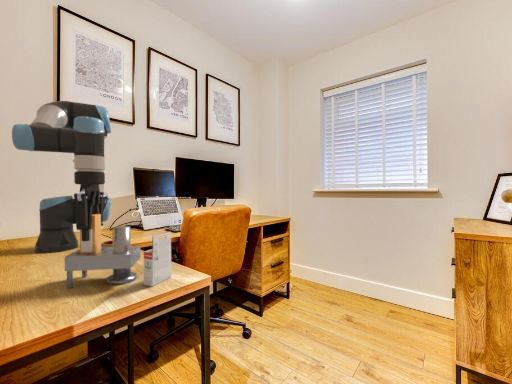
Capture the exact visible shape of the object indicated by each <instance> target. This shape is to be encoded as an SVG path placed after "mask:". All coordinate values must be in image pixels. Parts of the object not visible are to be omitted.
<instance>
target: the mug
mask: <svg viewBox="0 0 512 384" xmlns="http://www.w3.org/2000/svg"><path fill="white" fill-rule="evenodd" d="M101 247H113V240H106V241H103V242H101Z"/></svg>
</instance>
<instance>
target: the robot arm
mask: <svg viewBox="0 0 512 384" xmlns="http://www.w3.org/2000/svg"><path fill="white" fill-rule="evenodd" d="M111 132H112V129H111V121H110V115H109V110H108V109H107V107H105V106H102V105H97V104H89V103H83V102H82V103H81V102H74V101H69V100H58V101H57V100H55V101H51V102H47V103H45V104H43V105H41V106H39V108H38V109H37V111H36V117H35V118H34V119H33V121H32V122H31V123H30V124H28V123H23V124H22V123H16V124H14V125H13V127H12V129H11V139H12V144H13V146H14V148H16V149H17V150H20V151H21V150H22V151H29V152H43V153H44V152H45V153H64V154H65V153H67V154H74V155H73V156H74V157H73V159H72V162H73V163H74V164H73V165H74V167H73V168H74V169H75V170H76V171H75V172H74V180H73V181H74V184H75V185H80V187H79V192H78V193H74V194H73V195H64V196H62V195H61V196H54V197H48V198H47V197H46V198H43V199H41V200H40V202H39V209H38V211H39V235H38V237H37V240H36V243H35V246H34V251H35V252H36V253H43V254H44V253H45V254H46V253H58V252H64V251H70V250H73V249H76V248H78V247H79V241H78V238H77V235H76V233H75V230H74V225H75V227H76V230H77V231H80V230H81V252H92V251H93V229H91V220H92V214H101V227H103V226H104V222H107V221H108V220H109V219H110V214H111V213H110V212H111V204H112V198H111V197H109V196H108V193H107V192H106V191H105V184H106V177H105V175H106V173H105V172H104V171H105V170H106V164H105V163H106V161H105V160H106V159H105V140H106V139H107V138H108V134H111Z"/></svg>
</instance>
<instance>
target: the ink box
mask: <svg viewBox="0 0 512 384" xmlns="http://www.w3.org/2000/svg"><path fill="white" fill-rule="evenodd" d="M171 233H172V232H171V230H170V231H167V232H163V233H159V234H154V235H152V236H151V238H152V241H151V242H152V249H148V250H145V251H143V285H145V286H148V287H149V286H150V287H154V286H157V285H159V284H161V283H163V282H165V281H167V280H169V279H170V278H172V234H171ZM162 236H165V237H163V238H161V237H162Z"/></svg>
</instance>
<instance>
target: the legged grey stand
mask: <svg viewBox="0 0 512 384" xmlns="http://www.w3.org/2000/svg"><path fill="white" fill-rule="evenodd" d="M111 231H112V233H111V234H112V241H113V247H101V252H99V253H97V254H80V248H79V249H78V250H76V251H73V252H72V253H69V254H68V255H66V256H64V272H66V289H69V290H70V289H73V287H74V285H73V284H74V278H73V277H74V274H73V272H76V271H79V272H81V277H82V278H87V277H88V271H97V270H98V271H99V270H100V271H101V270H112V274H110V275H109V276H107V277H106V283H107V284H108V285H112V286H117V285H118V286H120V285H126V284H129V283H131V282H135V280H137V273H136V272H133V271H132V270H131V269H132V267H134V265H135V264H136V263H137V262H138V261H140V260H141V245H131V244H132V243H131V226H130V225H129V226H128V225H123V226H121V225H119V226H114V227H112V230H111Z"/></svg>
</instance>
